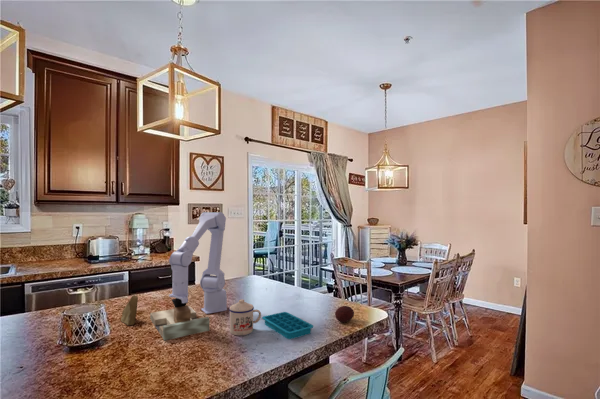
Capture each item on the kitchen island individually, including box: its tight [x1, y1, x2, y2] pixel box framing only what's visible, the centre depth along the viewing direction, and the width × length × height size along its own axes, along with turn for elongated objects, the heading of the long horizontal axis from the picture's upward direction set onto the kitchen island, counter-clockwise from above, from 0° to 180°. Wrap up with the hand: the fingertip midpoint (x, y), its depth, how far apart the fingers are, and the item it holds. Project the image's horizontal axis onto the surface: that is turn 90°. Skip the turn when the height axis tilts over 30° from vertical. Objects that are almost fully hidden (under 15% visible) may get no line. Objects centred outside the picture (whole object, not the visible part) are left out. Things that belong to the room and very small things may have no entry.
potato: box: [334, 305, 355, 323], centre depth 130 cm, size 8×9×6 cm
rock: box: [120, 294, 139, 326], centre depth 130 cm, size 11×9×10 cm
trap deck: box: [149, 305, 210, 341], centre depth 127 cm, size 16×26×4 cm, turn 35°
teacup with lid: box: [228, 298, 262, 336], centre depth 121 cm, size 12×9×12 cm
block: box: [173, 305, 191, 323], centre depth 122 cm, size 5×5×5 cm
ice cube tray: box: [261, 311, 314, 340], centre depth 123 cm, size 12×20×3 cm, turn 35°
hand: (179, 317), depth 125 cm, fingers closed, pressing on block
